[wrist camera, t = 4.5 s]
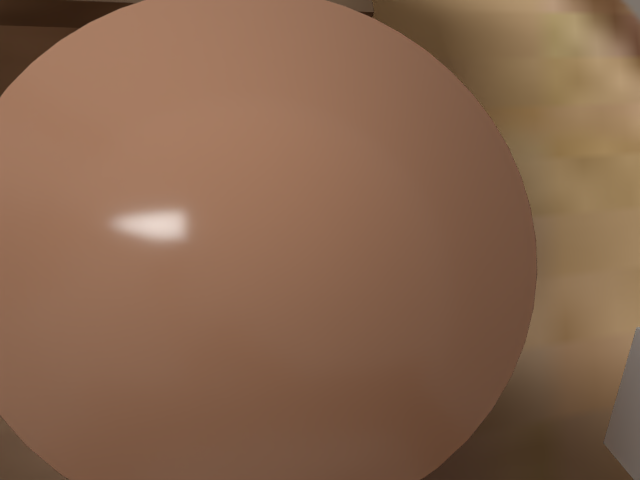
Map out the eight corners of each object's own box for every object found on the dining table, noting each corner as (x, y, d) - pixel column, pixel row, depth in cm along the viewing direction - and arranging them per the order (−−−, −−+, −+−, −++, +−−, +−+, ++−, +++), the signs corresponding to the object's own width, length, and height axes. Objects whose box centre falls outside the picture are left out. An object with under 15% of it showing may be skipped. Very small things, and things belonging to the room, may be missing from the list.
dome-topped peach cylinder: (118, 512, 16) (-106, 572, 5) (126, 281, 18) (-17, -25, 7) (355, 489, 17) (597, 498, 6) (334, 274, 19) (481, -3, 8)
